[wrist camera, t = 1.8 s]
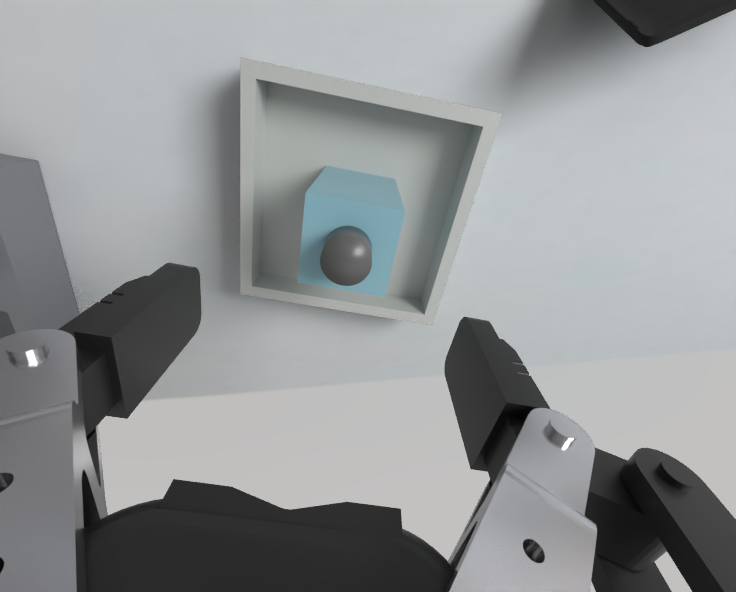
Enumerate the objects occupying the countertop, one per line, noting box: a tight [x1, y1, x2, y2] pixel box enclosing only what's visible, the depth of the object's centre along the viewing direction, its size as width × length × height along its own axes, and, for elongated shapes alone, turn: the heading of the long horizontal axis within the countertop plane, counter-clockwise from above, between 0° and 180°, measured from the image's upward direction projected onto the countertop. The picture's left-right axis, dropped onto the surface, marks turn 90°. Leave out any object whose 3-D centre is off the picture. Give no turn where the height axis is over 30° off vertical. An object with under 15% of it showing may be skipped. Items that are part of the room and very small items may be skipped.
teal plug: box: [297, 166, 405, 297], centre depth 17 cm, size 4×4×8 cm
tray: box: [240, 57, 502, 325], centre depth 20 cm, size 12×12×3 cm
